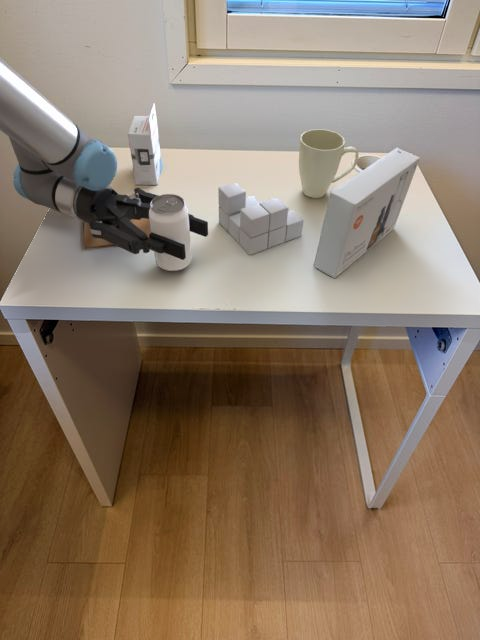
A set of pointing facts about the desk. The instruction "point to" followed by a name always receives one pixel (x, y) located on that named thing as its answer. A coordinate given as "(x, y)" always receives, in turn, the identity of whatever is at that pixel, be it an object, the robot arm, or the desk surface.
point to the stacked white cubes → (256, 219)
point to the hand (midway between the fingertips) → (195, 240)
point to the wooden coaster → (97, 242)
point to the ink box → (145, 149)
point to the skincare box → (364, 211)
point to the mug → (321, 160)
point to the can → (171, 228)
